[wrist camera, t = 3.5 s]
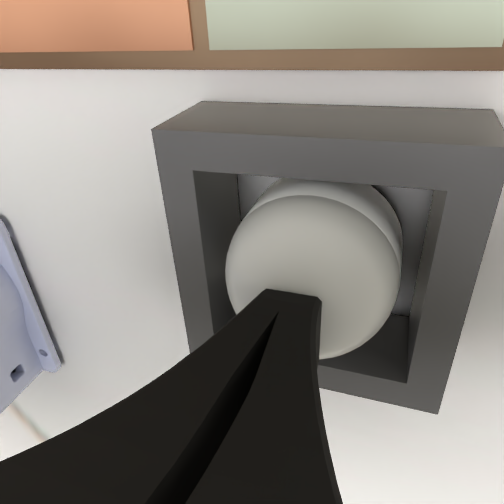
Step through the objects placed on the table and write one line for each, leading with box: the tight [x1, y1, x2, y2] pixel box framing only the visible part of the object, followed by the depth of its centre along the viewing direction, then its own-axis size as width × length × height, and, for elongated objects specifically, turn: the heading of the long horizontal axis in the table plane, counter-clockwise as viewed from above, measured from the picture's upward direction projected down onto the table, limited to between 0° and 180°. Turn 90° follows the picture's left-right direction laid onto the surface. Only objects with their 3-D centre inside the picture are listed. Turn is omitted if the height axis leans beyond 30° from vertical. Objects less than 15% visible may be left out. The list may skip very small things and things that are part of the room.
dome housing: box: [151, 101, 504, 414], centre depth 13 cm, size 8×8×3 cm
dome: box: [225, 178, 403, 359], centre depth 12 cm, size 5×5×5 cm
